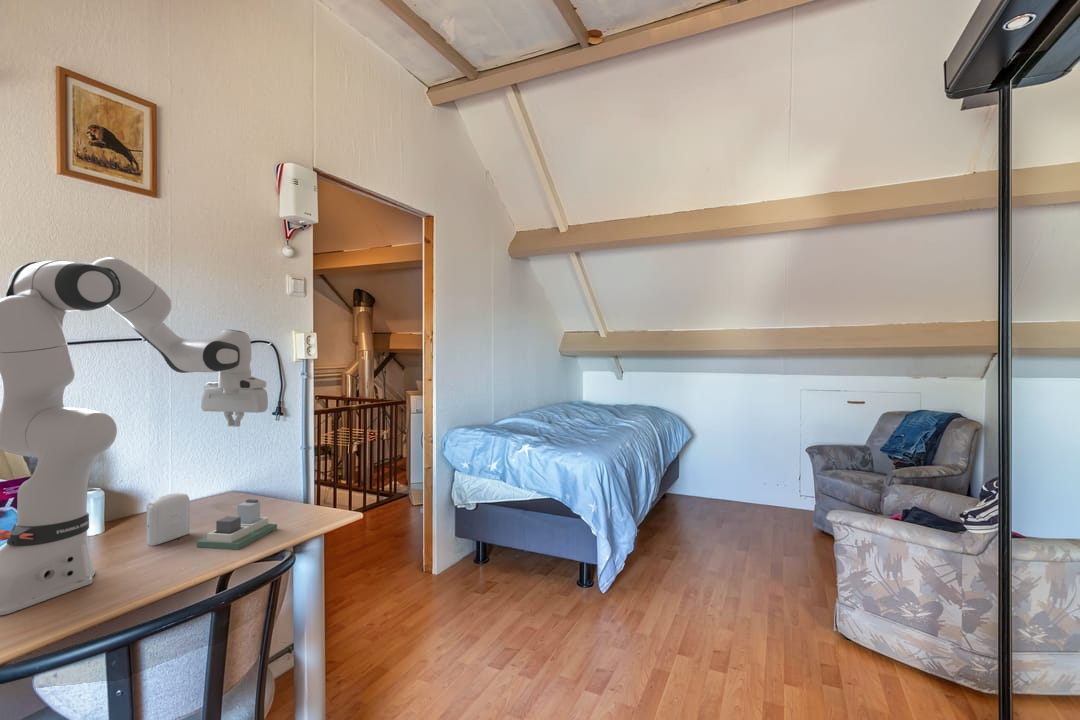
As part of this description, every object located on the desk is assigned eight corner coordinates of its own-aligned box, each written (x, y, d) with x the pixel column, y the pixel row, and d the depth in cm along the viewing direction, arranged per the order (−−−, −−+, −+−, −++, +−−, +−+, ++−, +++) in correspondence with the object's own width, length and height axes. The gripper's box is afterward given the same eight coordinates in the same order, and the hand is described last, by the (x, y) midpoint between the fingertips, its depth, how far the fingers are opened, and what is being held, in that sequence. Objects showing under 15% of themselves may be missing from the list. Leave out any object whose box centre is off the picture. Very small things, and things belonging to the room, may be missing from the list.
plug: (250, 530, 140) (250, 503, 140) (237, 529, 140) (237, 502, 140) (259, 525, 144) (260, 499, 144) (247, 524, 144) (247, 498, 144)
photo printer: (154, 547, 130) (155, 500, 130) (143, 545, 132) (143, 499, 132) (192, 534, 140) (192, 490, 140) (181, 532, 142) (181, 489, 142)
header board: (238, 549, 129) (238, 524, 129) (196, 547, 131) (196, 522, 131) (277, 529, 145) (277, 507, 145) (239, 526, 147) (239, 505, 147)
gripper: (196, 381, 151) (195, 426, 151) (257, 383, 149) (257, 428, 149) (211, 381, 158) (211, 424, 158) (271, 382, 156) (270, 425, 156)
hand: (234, 426), depth 153 cm, fingers closed
